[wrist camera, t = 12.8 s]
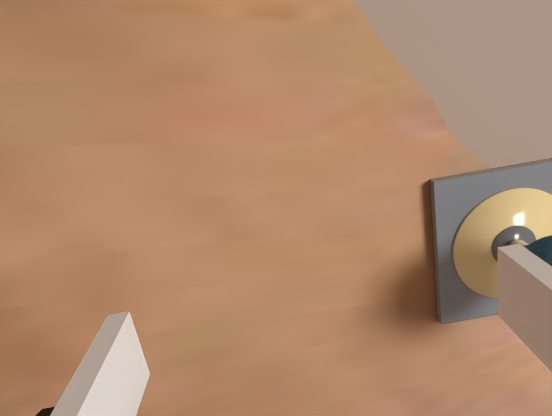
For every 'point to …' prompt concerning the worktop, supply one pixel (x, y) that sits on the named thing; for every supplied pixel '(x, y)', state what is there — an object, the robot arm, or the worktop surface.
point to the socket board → (484, 231)
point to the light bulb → (539, 248)
